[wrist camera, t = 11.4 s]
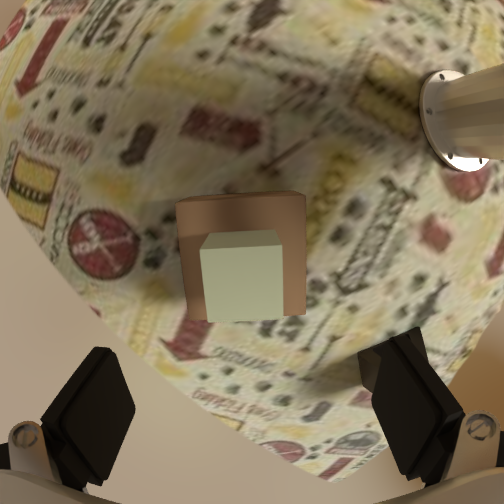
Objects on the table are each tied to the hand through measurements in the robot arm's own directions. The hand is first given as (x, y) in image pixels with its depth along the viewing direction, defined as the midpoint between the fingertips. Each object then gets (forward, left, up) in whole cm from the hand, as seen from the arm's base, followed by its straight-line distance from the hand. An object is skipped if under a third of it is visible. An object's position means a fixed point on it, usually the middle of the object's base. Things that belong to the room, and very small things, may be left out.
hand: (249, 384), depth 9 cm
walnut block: (0, 0, -21) cm, 21 cm away
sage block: (0, 0, -15) cm, 15 cm away
